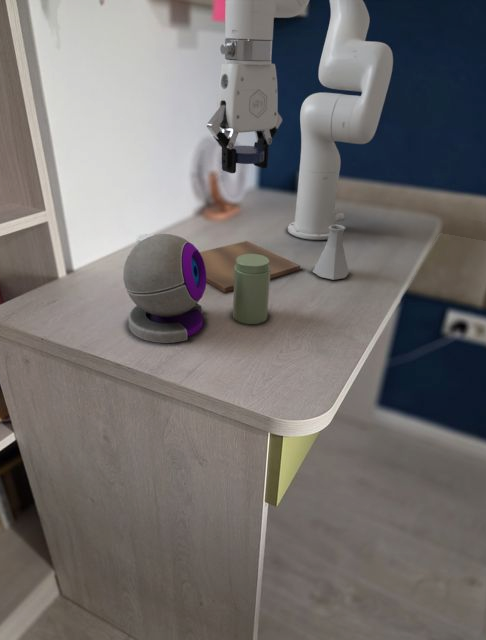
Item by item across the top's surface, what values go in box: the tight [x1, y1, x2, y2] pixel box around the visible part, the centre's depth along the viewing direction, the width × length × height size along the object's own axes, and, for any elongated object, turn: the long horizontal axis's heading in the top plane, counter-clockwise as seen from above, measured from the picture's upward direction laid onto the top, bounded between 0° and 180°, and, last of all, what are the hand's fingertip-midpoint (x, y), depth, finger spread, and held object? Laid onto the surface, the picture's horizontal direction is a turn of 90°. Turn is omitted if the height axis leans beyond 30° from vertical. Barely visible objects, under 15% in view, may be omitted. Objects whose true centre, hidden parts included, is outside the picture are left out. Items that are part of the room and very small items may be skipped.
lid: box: [233, 145, 265, 165], centre depth 88 cm, size 7×7×2 cm
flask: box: [312, 223, 350, 281], centre depth 101 cm, size 7×7×10 cm
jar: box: [232, 254, 271, 325], centre depth 84 cm, size 6×6×10 cm
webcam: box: [122, 233, 207, 344], centre depth 79 cm, size 13×13×15 cm
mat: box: [199, 240, 301, 293], centre depth 105 cm, size 20×18×1 cm
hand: (244, 168), depth 89 cm, fingers closed on lid, 6 cm apart
